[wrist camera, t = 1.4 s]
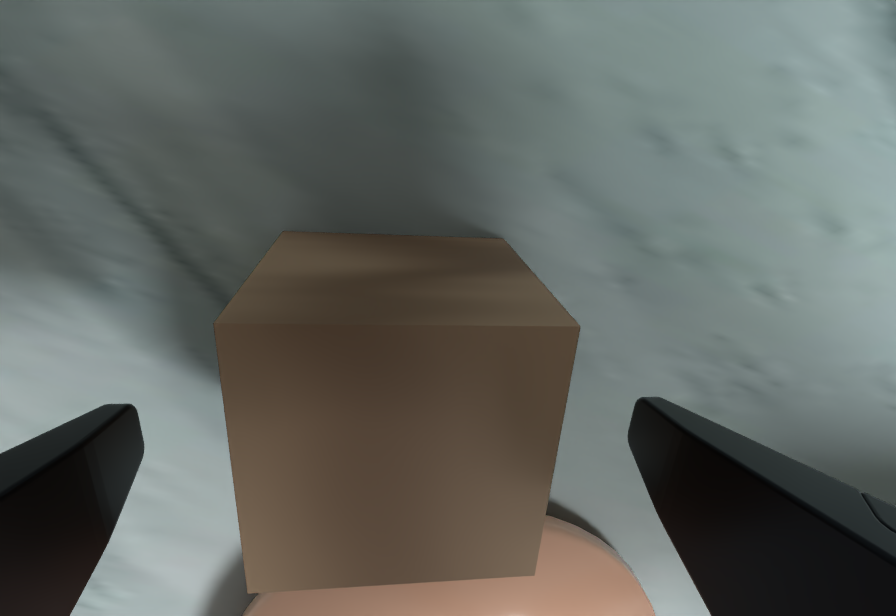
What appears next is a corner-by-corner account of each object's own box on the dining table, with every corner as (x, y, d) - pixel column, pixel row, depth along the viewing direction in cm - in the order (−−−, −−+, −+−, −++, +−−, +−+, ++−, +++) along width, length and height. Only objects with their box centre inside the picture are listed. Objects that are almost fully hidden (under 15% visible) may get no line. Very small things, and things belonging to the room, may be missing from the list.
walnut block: (502, 237, 12) (580, 326, 7) (483, 415, 14) (534, 575, 9) (283, 230, 11) (213, 323, 6) (295, 418, 13) (247, 593, 8)
